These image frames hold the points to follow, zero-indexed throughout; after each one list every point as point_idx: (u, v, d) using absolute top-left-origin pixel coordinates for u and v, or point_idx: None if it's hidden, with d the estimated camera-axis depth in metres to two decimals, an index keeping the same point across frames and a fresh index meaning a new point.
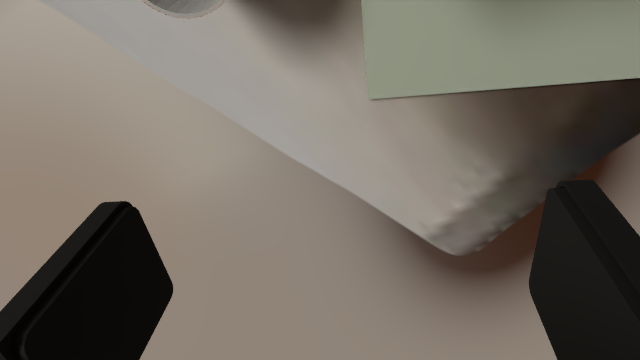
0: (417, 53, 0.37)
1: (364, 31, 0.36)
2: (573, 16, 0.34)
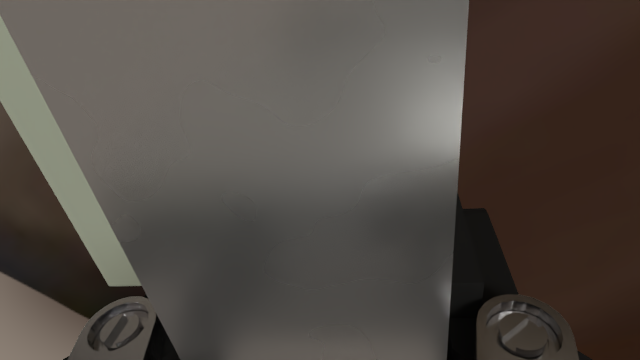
0: None
1: None
2: None
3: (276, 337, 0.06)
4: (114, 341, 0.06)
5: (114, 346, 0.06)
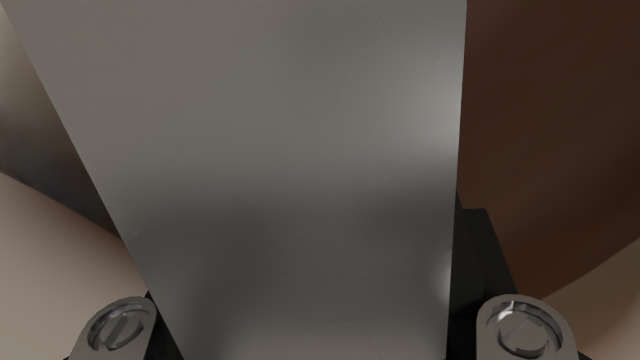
0: None
1: None
2: None
3: (278, 334, 0.06)
4: (114, 341, 0.06)
5: (114, 346, 0.06)
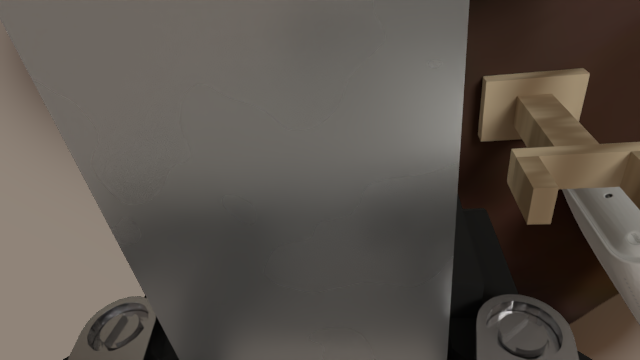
0: None
1: None
2: None
3: (276, 340, 0.06)
4: (114, 341, 0.06)
5: (114, 346, 0.06)
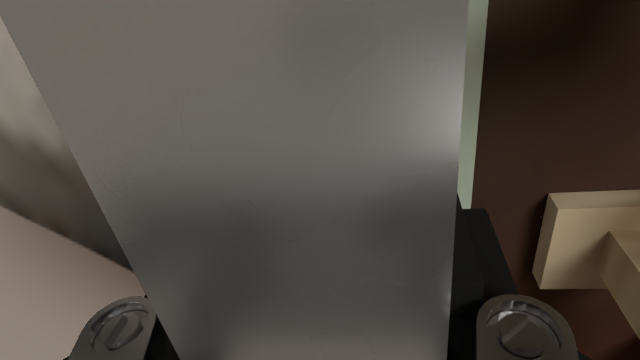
0: None
1: None
2: None
3: (277, 339, 0.06)
4: (114, 341, 0.06)
5: (114, 346, 0.06)
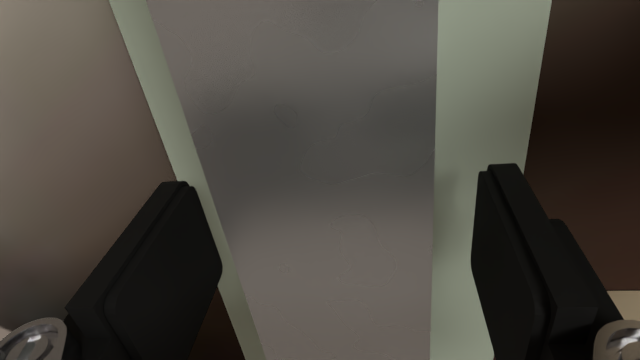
0: None
1: None
2: None
3: (305, 228, 0.08)
4: None
5: None
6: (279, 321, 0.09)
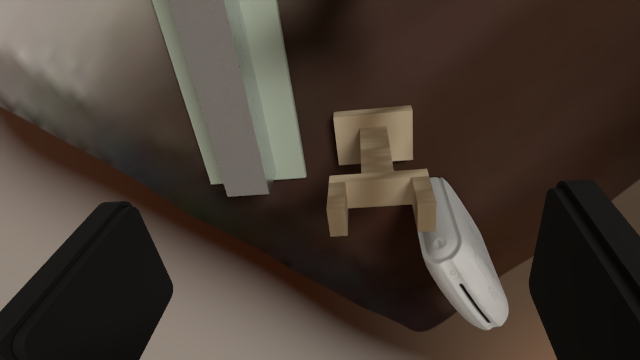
0: None
1: None
2: None
3: (208, 62, 0.31)
4: None
5: None
6: (204, 97, 0.33)
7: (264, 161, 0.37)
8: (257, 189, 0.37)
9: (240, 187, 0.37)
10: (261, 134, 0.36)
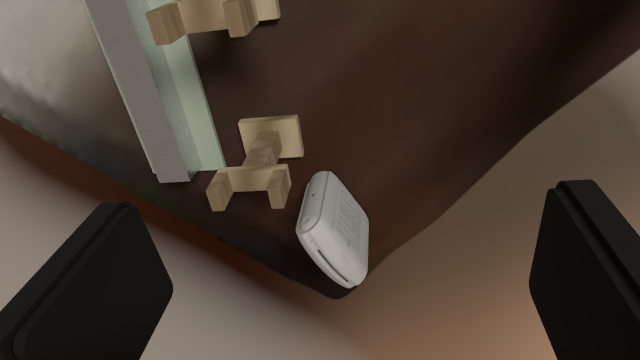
0: None
1: None
2: None
3: (133, 83, 0.43)
4: None
5: None
6: (134, 108, 0.44)
7: (185, 156, 0.48)
8: (181, 177, 0.49)
9: (168, 175, 0.49)
10: (182, 135, 0.48)
